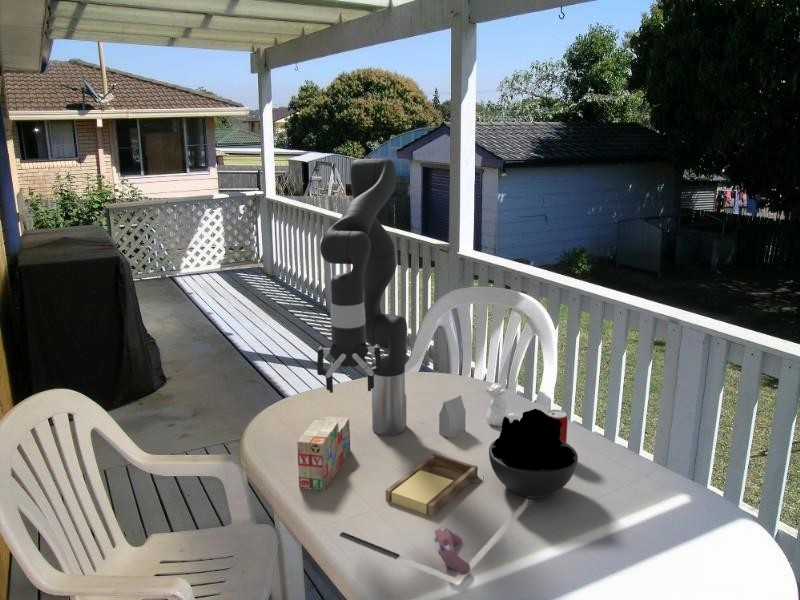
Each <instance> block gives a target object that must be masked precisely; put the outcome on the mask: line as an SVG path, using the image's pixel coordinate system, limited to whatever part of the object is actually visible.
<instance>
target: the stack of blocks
mask: <svg viewBox="0 0 800 600" xmlns="http://www.w3.org/2000/svg"><path fill="white" fill-rule="evenodd" d="M296 442H297V443H296V445H297V446H296V447H297V464H298V465H297V466H298V487H300V489H304V488H311V489H310V490H314V489H318V490H317V491H322V490H324V489H326V488H327V487H328V485H329V484H330V483H331V481H332V479H333V478H334V477H335V475H336V474H337V472H338V470H339V469H340V467H341V465H342V463H344V462H343V461H344V460H346V458H347V457H348V455H349V453H350V451H351V429H350V418H349V417H341V416H328V415H327V416H326V417H325V418H324V420H320V419H315V420H313V422H311V424H310V426H309V427H308V428H307V429H306V430H305V432H304V433H303V434H302V435H301V436H300V437H299V438H298V440H297V441H296ZM326 486H327V487H326ZM324 491H325V490H324Z"/></svg>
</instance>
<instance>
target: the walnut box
mask: <svg viewBox="0 0 800 600" xmlns="http://www.w3.org/2000/svg"><path fill="white" fill-rule="evenodd" d="M478 469H479V468H478V466H477V465H473V464H471V463H467V462H464V461H460V460H458V459H453V458H451V457H447V456H445V455H444V456H443V455H440V454H436V453H433V454H431V455H430V456H428V457H427V458H426V459H424V460H423V461H422V462H421V463H419V464H418V465H417V466H416V467H414V468H413V469H412V470H410V471H409V472H407V473H406V474H405V475H404V476H402V477H400V479H398V480H397V481H396V482H394V483H393V484H391V485H390V486H389V487H388V488H386V489H385V501H386V502H390V503H393V502H392V491H394V490H395V489H396V488H397V487H399V486H400V485H401V484H403V483H404V482H405V481H407V480H408V479H409V478H410V477H412V476H413V475H414V474H416V473H417V472H418V471H420V470H422V471H425V472H428V473H431V474H434V475H438V476H441V477H444V478H447V479H450V480H453V484H452V485H451V486H450V487H448V488H447V489H446V490H445V491H444V492H443V493H442V494H440V495H439V496H438V497H437V498H436V499H435V500H433V501H432V502H431V503H430V504H429V512H428V513H427V514H424V513H421V512H419V513H421V514H423V515H427V516H430V517H432V518H433V517H434V516H435V515H436V514H438V512H439V511H441V510H442V508H444V507H445V506H446V505H448V504H449V502H451V501H452V500H453V499H454V498H455V497H456V496H457V495H459V493H460V492H461V491H463V490H464V489H465V488H466V487H467V486H468V485H470V483H471V482H473V481H474V480H475V479H476V478H477V477H478V474H479V473H478ZM393 504H395V505H397V504H396V503H393ZM402 507H404V506H402ZM404 508H407V507H404ZM407 509H410V508H407ZM410 510H412V511H414V510H413V509H410Z"/></svg>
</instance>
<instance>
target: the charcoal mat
mask: <svg viewBox="0 0 800 600" xmlns="http://www.w3.org/2000/svg"><path fill="white" fill-rule="evenodd" d="M339 537H341V538H344V539H346V540H349V541H351V542H353V543H356V544H358V545H360V546H363V547H366V548H368V549H370V550H373V551H375V552H378V553H380V554H384V555H385V556H388V557H390V558H393V559H395V560H397V559H398V557H400V556H401V554H399V553H397V552H394V551H391V550H388V549H387V548H384V547H381V546H380V545H376V544H374V543H372V542H369V541H366V540H364V539H362V538H360V537H357V536H354V535H352V534H349V533H347V532H344V531H341V533H340V534H339Z"/></svg>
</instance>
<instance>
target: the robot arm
mask: <svg viewBox="0 0 800 600" xmlns="http://www.w3.org/2000/svg"><path fill="white" fill-rule="evenodd" d="M397 177H398V176H397V169H396V165H395V163H394V162H393V160H392V159H390V158H384V157H383V158H382V157H380V158H359V159H358V158H357V159H354V160H352V163H351V164H350V172H349V178H350V187H351V193H352V199H353V200H351V201H350V202H349V203H348V205H346V207H345V209H344V212H343V213H342V216H341V218H340V219H338V220H337V221H336V222H334V224H333V225H331V226H330V227H329V228H328V229H327V230H326V232H325V233H324V234H323V235H322V239H321V241H320V245H319V246H320V247H319V249H320V254H321V257H322V258H323V260H324V261H325V262H327V263H329V264H334V265H335V264H336V265H352V269H351V270H350V271H349V272H343V273H339V274H335V275H334V276H332V278H331V279H330V296H331V297H330V298H331V300H330V301H331V302H330V303H331V304H330V319H329V320H330V328H331V329H330V331H331V332H330V333H331V335H330V338H331V346H330V347H324V346H322V345H319V346H318V348H317V367H316V370H317V371H316V372H317V373H316V374H317V375H318V376H324V377H325V382H326V383H325V385H326V388H325V389H326V390H327V391H329V393H330V394H331V393H333V392H334V382H333V381H334V380H333V376H334V375H333V374H334V372H335V371H337V370H338V368H339V366H340V367H342V368H347V367H354V368H356V367H357V366H360V367H361V369H363V370H364V371H365V372H366V375H367V392H371V415H372V417H371V418H372V420H371V421H372V425H371V426H372V432H374V433H376V434H378V435H382V436H395V435H399V434H401V433H403V432H404V431H405V429H406V426H407V394H406V361H407V342H408V325H407V319H406V318H405V317H404V316H402V315H395V314H390V313H389V314H388V313H383V312H382V307H381V306H382V305H381V302H382V298H383V294H384V293H385V291H386V289H387V287H388V286H389V284H390V283H391V280H392V279H393V277H394V275H395V272H396V268H397V263H396V251H395V250H396V249H395V248H396V247H395V244H394V241H393V239H392V237H391V236H390V234H389V233H388V231H387V230H386V229H385V228H384V226H383V225H382V224H381V222H380V221H379V220H378V218H377V215H378V213H380V211H381V209H382V208H384V206H385V205H386V203H387V202H388V201H389V199H390V198H391V196H392V195H393V193H394V191H395V189H396V187H397ZM367 344H368V345H369V346H368V345H367ZM381 348H383V349H389V350H388V354H387V355H383V356H382V355H381ZM368 353H370V354H371V356H372V357H374V359H373V360H372V361H371V364H370V363H369V362H368V360H367V359H366V356H367V355H368ZM328 354H330V355H331V357H332V358H333V360H332V361H331V363H330V364H329V366H328V367H326V368H324V359H326V358H327V357H328Z"/></svg>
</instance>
